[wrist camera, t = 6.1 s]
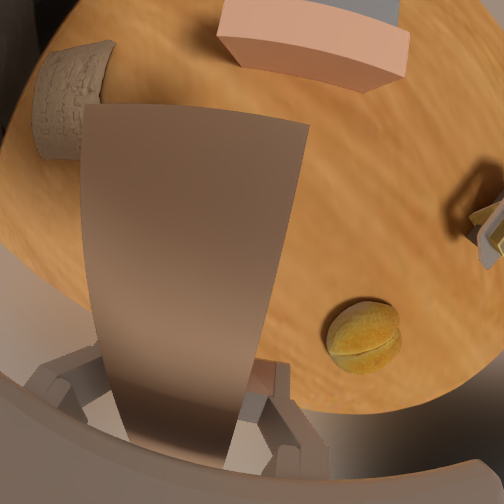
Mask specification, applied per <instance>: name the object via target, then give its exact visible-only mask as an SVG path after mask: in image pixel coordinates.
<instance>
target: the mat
mask: <svg viewBox="0 0 504 504" xmlns="http://www.w3.org/2000/svg"><path fill="white" fill-rule="evenodd" d="M305 1H310V2H315V3H320V4H324V5H328V6H333V7H336V8H340V9H344V10H348V11H351V12H355V13H358V14H361V15H364V16H367V17H370V18H373V19H376V20H379V21H382V22H385V23H387V24H390V25H393V26H395V27H397V25H398V14H399V0H305Z"/></svg>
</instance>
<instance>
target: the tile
mask: <svg viewBox="0 0 504 504" xmlns="http://www.w3.org/2000/svg"><path fill="white" fill-rule="evenodd" d="M216 36H217V37H218V38H219V39H220V41H221V42H222V43H223V44H224V45H225V47H226V48H227V49H228V50H229V52H230V53H231V54H232V55H233V57H234V58H235V59H236V60H237V62H238V63H239V64H240V66H241V67H242V68H250V69H257V70H264V71H270V72H276V73H282V74H287V75H293V76H298V77H302V78H307V79H311V80H316V81H320V82H324V83H328V84H332V85H335V86H339V87H343V88H346V89H350V90H353V91H356V92H360V93H363V94H364V93H366V92H368V91H371V90H373V89H376V88H378V87H381V86H383V85H386V84H389V83H391V82H394V81H397V80H399V79H402V78H405V71H406V64H407V56H408V48H409V38H410V32H407V31H405V30H403V29H400V28H398V27H395V26H393V25H390V24H387V23H385V22H382V21H379V20H376V19H373V18H370V17H367V16H364V15H361V14H358V13H355V12H351V11H348V10H344V9H340V8H336V7H333V6H328V5H324V4H320V3H315V2H310V1H305V0H225V2H224V6H223V10H222V14H221V18H220V23H219V27H218V31H217V35H216Z"/></svg>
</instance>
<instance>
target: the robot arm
mask: <svg viewBox="0 0 504 504" xmlns="http://www.w3.org/2000/svg"><path fill="white" fill-rule="evenodd" d="M110 390H111V387H110V383H109V380H108V376H107V373H106V369H105V366H104V362H103V358H102V354H101V350H100V346H99V342H98V340H97V342H96V343H95V344H94V346H93V347H92V346H87V347H85V348H82V349H80V350H77V351H75V352H72V353H70V354H67V355H65V356H62V357H59V358H57V359H54V360H52V361H49V362H47V363H44V364H42V365H40V366H39V367H38V368H37V369H36V371H35V372H34V373H33V375H32V376H31V377H30V378H29V380H28V381H27V382H26V384H25V385H24V386H23V387H22V386H20V385H19V384H17V383H16V382H14V381H13V380H12V379H10V378H9V377H7V376H6V375H5V374H3V373H2V372H1V371H0V504H504V490H503V487H502V483H501V481H500V478H499V477H498V476H497V475H496V474H495V473H494V472H493V471H492V470H491V469H490V468H489V467H488V466H487V465H486V464H485V463H483V462H482V461H480V460H477V459H476V460H475V459H474V460H469V461H466V462H462V463H459V464H455V465H451V466H447V467H443V468H438V469H433V470H428V471H423V472H418V473H412V474H405V475H398V476H390V477H381V478H370V479H353V480H352V479H351V480H330V470H329V447H328V446H327V445H326V443H325V442H324V441H323V439H322V438H321V437H320V435H319V434H318V433H317V431H316V430H315V429H314V427H313V426H312V425H311V423H310V422H309V420H308V419H307V418H306V416H305V415H304V414H303V412H302V411H301V410H300V408H299V407H298V405H297V404H296V402H295V401H294V400H291V399H290V364H289V363H284V362H278V361H276V362H275V361H272V360H266V359H260V358H254V362H253V366H252V369H251V373H250V377H249V380H248V384H247V387H246V391H245V395H244V398H243V402H242V405H241V409H240V412H239V416H238V420H242V421H247V422H252V423H257V425H258V427H259V429H260V431H261V433H262V435H263V437H264V439H265V441H266V443H267V445H268V447H269V449H270V451H271V453H272V455H273V457H272V458H271V460H270V461H269V462H268V464H267V465H266V467H265V468H264V470H263V471H262V474H261V476H259V475H253V474H246V473H239V472H234V471H229V470H223V469H218V468H214V467H209V466H205V465H200V464H196V463H192V462H188V461H185V460H181V459H177V458H174V457H171V456H167V455H164V454H161V453H158V452H155V451H152V450H149V449H146V448H143V447H140V446H137V445H135V444H132V443H129V442H127V441H124V440H122V439H119V438H117V437H114V436H112V435H110V434H107V433H105V432H103V431H101V430H98V429H96V428H94V427H92V426H90V425H88V424H87V422H88V420H87V417H86V415H85V413H84V411H83V409H82V407H84V406H85V405H87V404H89V403H90V402H92V401H93V400H95V399H97V398H98V397H100V396H102V395H103V394H105V393H107V392H108V391H110Z"/></svg>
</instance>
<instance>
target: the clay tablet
mask: <svg viewBox="0 0 504 504" xmlns="http://www.w3.org/2000/svg"><path fill="white" fill-rule="evenodd" d="M115 45H116V42H113V41H112V40H105V41H102V42H97V43H92V44H87V45H82V46H77V47H74V48H69V49H65V50H63V51H61V52H59V51H56V52H51V53H50V54H48V56H47V57H46V59H45V61H44V62H43V66H42V67H41V68H40V70H39V72H38V77H37V80H36V84H35V96H34V99H33V102H32V103H33V106H32V123H31V126H32V134H33V138H34V141H35V144H36V146H37V150H38V151H39V154H40V155H41V158H42V159H43V160H46V159H69V160H80V158H81V138H82V125H83V115H84V106H85V104H100V98H99V93H100V90H101V84H102V79H103V77H104V73H105V72H104V70H105V67H106V65H107V61H108V59H109V55H110V54H111V51H112V50H113V49H112V48H113V47H114V46H115Z"/></svg>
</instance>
